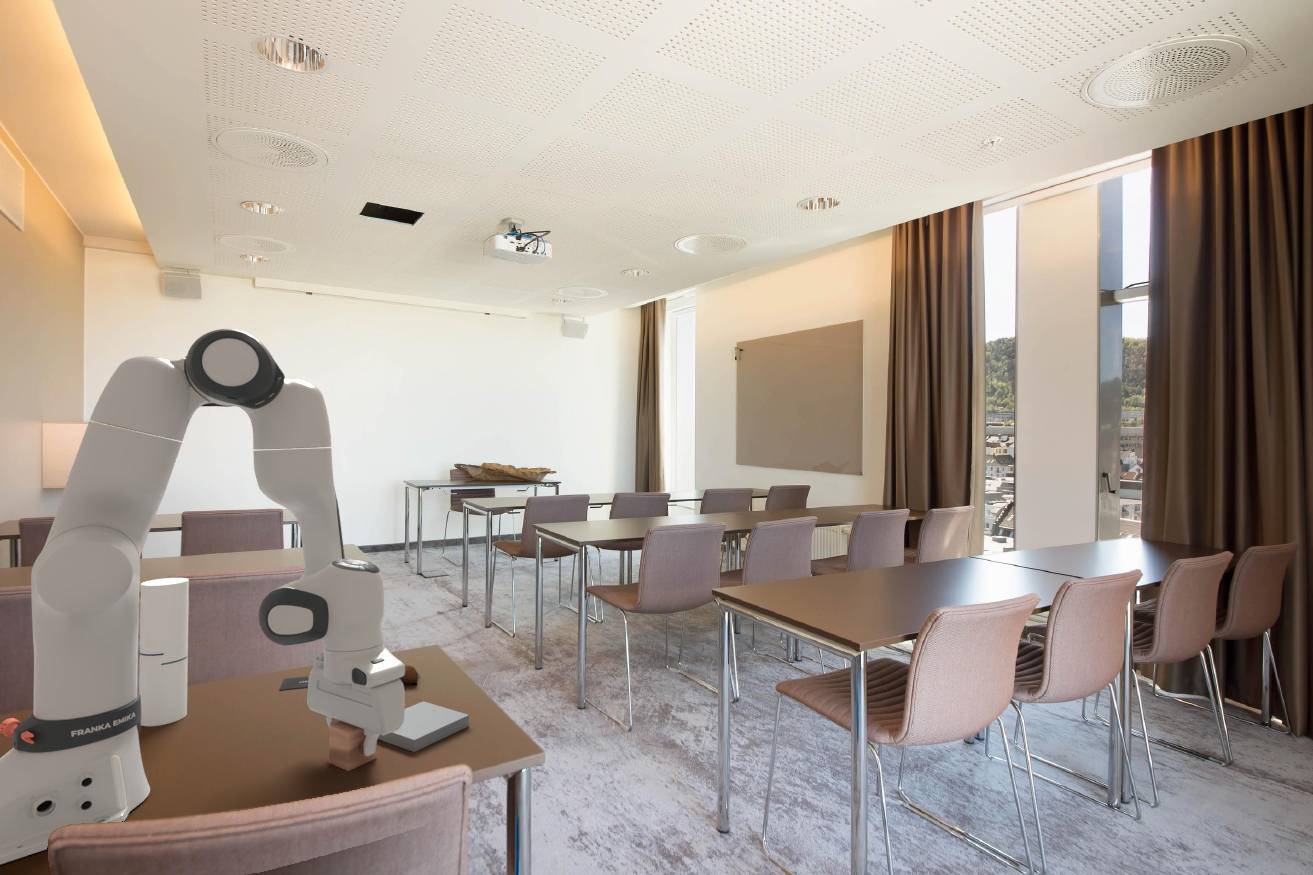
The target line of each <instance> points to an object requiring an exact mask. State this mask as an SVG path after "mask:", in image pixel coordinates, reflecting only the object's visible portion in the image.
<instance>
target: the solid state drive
mask: <svg viewBox="0 0 1313 875" xmlns="http://www.w3.org/2000/svg"><path fill="white" fill-rule="evenodd" d="M309 676H310V675H306V676H298V677H290V678H284V679H283V681H282V683H281V685H280V687H279V691H281V692H282V691H283V692H284V691H291V690H298V689H299V690H300V689H308V682H309Z"/></svg>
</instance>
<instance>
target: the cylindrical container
mask: <svg viewBox="0 0 1313 875" xmlns="http://www.w3.org/2000/svg"><path fill="white" fill-rule="evenodd" d="M189 580H190V579H189V578H186V577H168V578H166V577H165V578H158V579H157V578H156V579H152V580H146V581H143V582H141V583H140V601H139V668H138V672H139V673H138V676H139V680H138V681H139V682H138V693H139V694H140V695H141V706H142V720H141V727H143V726H144V727H158V726H163V725H167V724H171V723H175V722H178V721H180V720H182V719H184V718H185V717H187V714H188V666H189V664H188V661H189V660H188V658H189V657H188V656H189V654H188V652H189V651H188V650H189V602H190V601H189V597H190V596H189V595H190V594H189V593H190V592H189V591H190V590H189V589H190V582H189Z"/></svg>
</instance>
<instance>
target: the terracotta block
mask: <svg viewBox="0 0 1313 875" xmlns="http://www.w3.org/2000/svg"><path fill="white" fill-rule="evenodd" d="M328 729H329V728H328ZM328 734H329V739H328V740H329V742H328V748H329V749H328V763H329V764H331V765H334V766H335V767H338V768H340V769H343V770H344V771H348V772H349V771H352V770H353V769H356V768H358V767H360V766H363V765H365V764H367V763H369V762H371V761H375V760H376V759H377V758H378V757H377V756H378V755H377V754H378V753H377V752H378V750H377V749H378V740H377V741H376V750H375V753H374V754H372V755H369V756H365V755H363V754H361V753H360V750H361V749H360V743H363V742H364V741H365V738H366V735H364V729H362V728H360V727H357V726H354V725H351V724H348V723H346V722H343V721H339V722H337V723H334V724H332V725H330V729H329V732H328Z"/></svg>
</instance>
